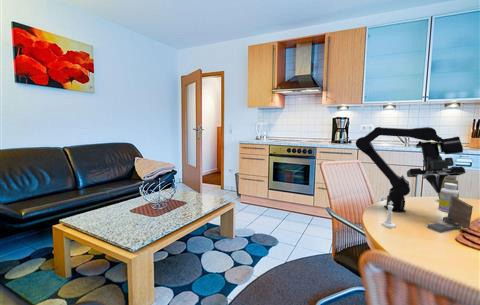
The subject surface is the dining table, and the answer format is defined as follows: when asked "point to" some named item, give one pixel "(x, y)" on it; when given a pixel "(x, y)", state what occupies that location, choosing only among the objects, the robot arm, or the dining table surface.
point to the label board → (444, 225)
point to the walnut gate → (460, 212)
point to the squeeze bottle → (449, 180)
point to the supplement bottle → (447, 195)
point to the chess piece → (389, 217)
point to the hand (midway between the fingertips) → (438, 192)
